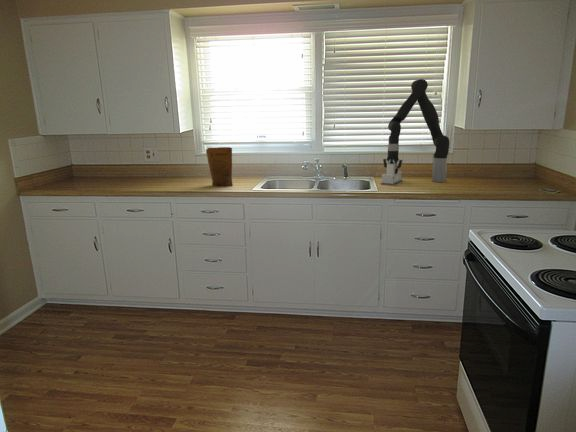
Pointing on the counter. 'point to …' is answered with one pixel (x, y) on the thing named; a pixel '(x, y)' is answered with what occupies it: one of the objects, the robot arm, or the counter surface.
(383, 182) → the rail
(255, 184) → the counter surface
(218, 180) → the pancake mix bag
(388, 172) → the block
